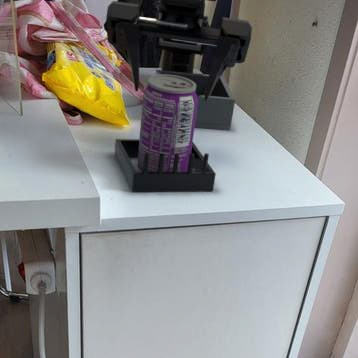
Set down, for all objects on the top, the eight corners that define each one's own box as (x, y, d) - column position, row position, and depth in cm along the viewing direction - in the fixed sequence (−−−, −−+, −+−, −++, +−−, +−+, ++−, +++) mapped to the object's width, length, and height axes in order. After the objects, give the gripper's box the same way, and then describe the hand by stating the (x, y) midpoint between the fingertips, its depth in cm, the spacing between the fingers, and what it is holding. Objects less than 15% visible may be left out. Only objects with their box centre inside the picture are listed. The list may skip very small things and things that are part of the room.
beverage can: (189, 167, 92) (201, 78, 84) (185, 188, 87) (198, 95, 79) (140, 159, 92) (148, 69, 84) (133, 180, 87) (140, 86, 79)
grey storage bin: (153, 99, 112) (155, 69, 109) (218, 105, 114) (223, 76, 110) (159, 124, 103) (162, 93, 100) (230, 130, 105) (235, 99, 102)
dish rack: (114, 156, 92) (116, 120, 89) (189, 156, 95) (193, 122, 92) (132, 192, 84) (134, 154, 81) (213, 191, 87) (218, 155, 84)
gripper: (111, -76, 78) (95, 49, 77) (265, -53, 78) (251, 71, 77) (115, -13, 89) (101, 96, 88) (250, 6, 90) (238, 115, 89)
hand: (171, 94), depth 85 cm, fingers open, 9 cm apart
